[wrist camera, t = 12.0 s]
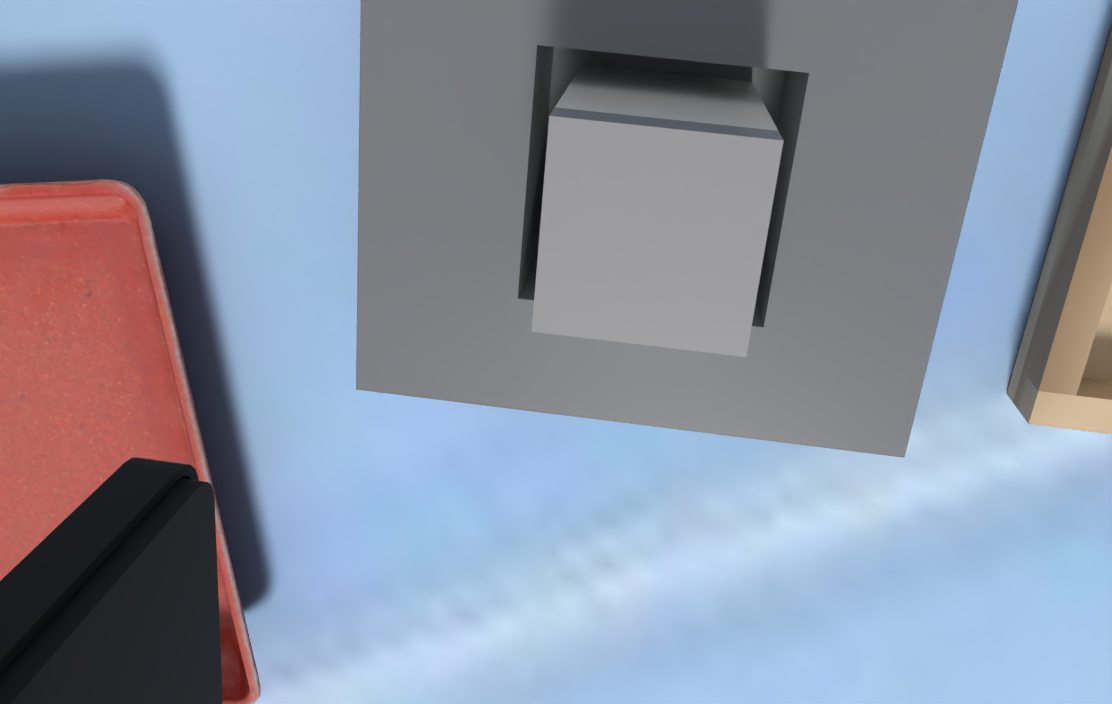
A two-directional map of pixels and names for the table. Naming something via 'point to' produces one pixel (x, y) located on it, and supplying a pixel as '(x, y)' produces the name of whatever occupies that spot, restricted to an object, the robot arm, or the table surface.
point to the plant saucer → (93, 374)
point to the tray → (1075, 291)
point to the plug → (655, 210)
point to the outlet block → (794, 230)
